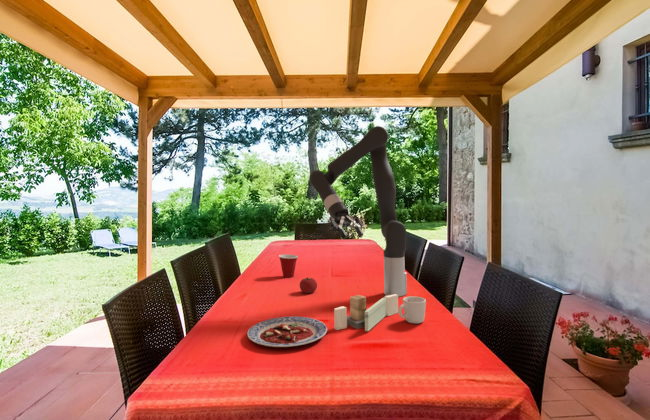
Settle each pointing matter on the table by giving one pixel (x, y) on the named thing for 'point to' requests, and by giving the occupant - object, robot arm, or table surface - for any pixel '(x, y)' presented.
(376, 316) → the gate
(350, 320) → the wooden block on base
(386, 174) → the robot arm
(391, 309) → the wooden blocks
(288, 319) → the ceramic plate
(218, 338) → the table surface
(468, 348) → the table surface
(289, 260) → the plastic cup
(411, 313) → the cup
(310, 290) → the tomato
